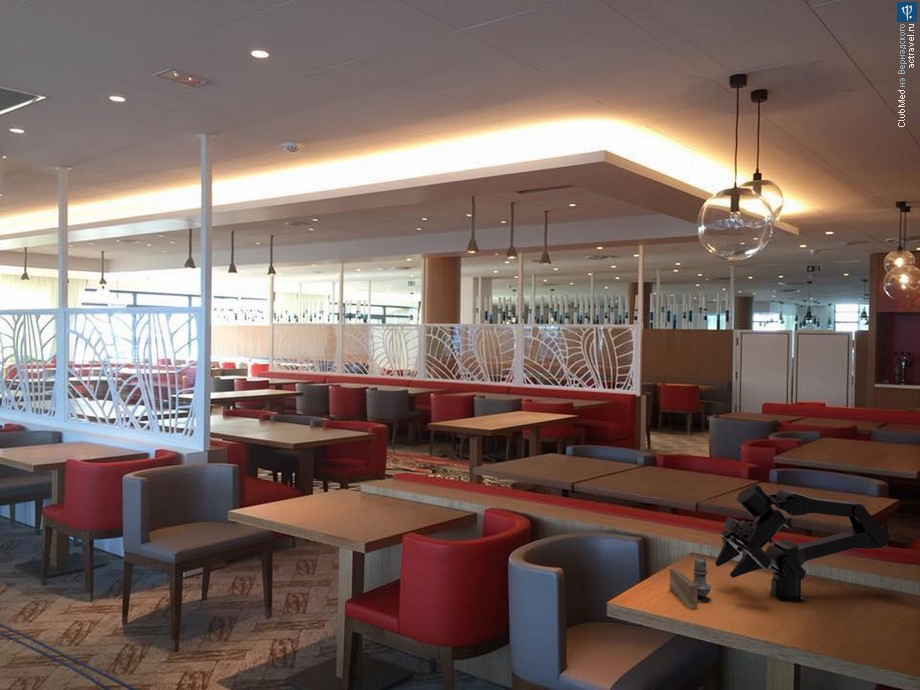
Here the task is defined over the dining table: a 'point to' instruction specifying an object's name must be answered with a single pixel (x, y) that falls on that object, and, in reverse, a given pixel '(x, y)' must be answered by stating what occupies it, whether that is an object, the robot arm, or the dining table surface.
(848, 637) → the dining table surface
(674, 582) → the walnut board
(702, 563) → the salt shaker
